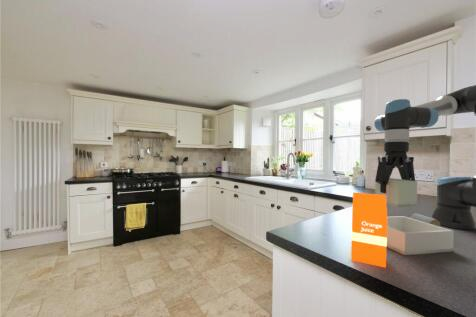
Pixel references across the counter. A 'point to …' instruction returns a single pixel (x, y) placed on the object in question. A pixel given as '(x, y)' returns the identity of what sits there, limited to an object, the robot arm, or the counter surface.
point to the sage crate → (400, 192)
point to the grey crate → (417, 236)
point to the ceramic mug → (425, 219)
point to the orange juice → (369, 229)
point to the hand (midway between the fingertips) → (394, 201)
